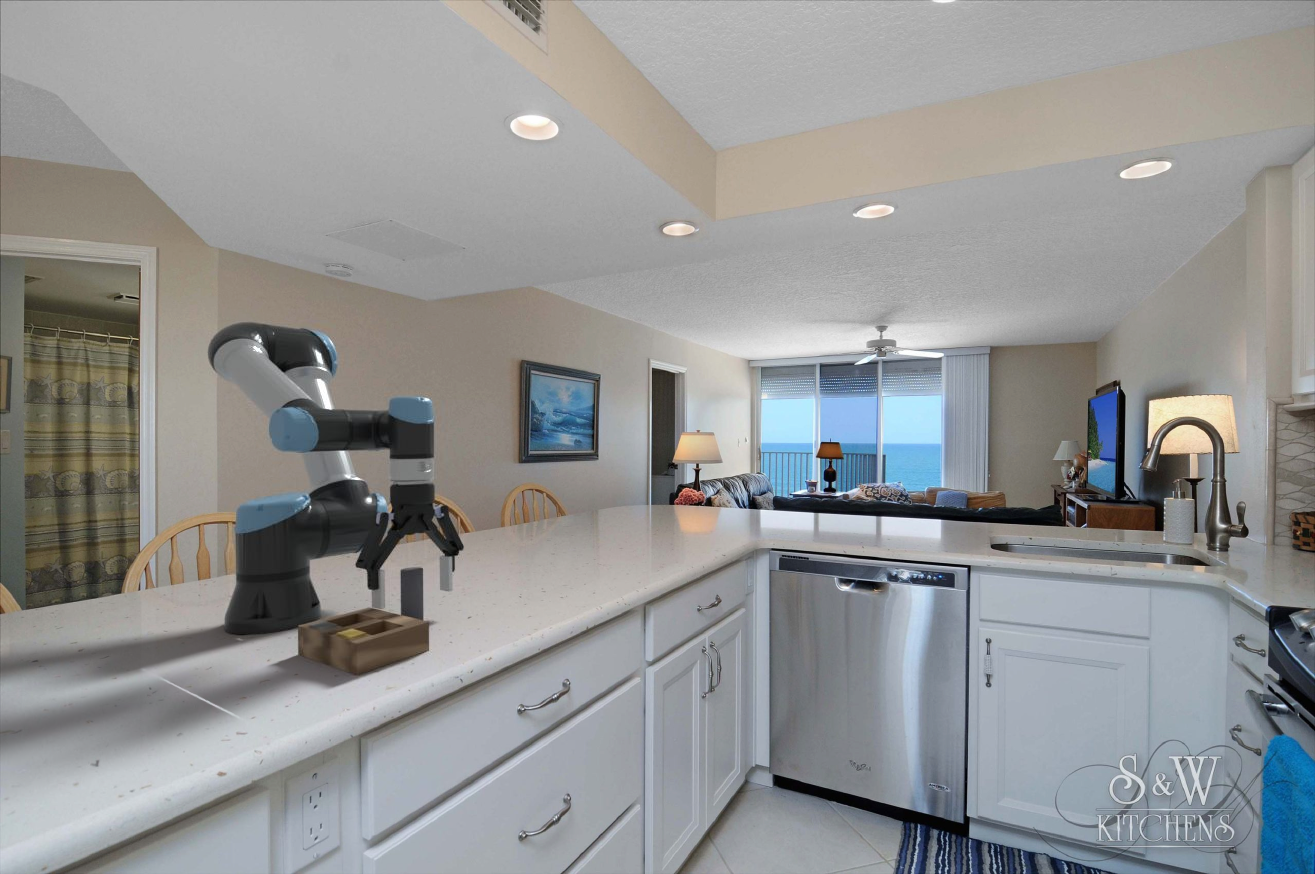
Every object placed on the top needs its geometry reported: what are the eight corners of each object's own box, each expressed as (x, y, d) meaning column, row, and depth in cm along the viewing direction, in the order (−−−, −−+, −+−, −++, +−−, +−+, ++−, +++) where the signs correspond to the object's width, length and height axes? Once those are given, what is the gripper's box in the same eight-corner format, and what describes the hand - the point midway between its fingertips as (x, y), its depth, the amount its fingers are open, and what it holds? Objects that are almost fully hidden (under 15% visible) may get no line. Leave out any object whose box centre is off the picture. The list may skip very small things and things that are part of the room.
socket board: (298, 654, 96) (297, 623, 96) (369, 633, 106) (369, 605, 106) (357, 675, 87) (357, 640, 87) (429, 650, 97) (428, 619, 97)
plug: (396, 625, 110) (395, 570, 110) (414, 620, 113) (414, 566, 113) (409, 629, 108) (409, 572, 108) (427, 623, 111) (427, 568, 111)
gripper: (358, 487, 98) (360, 619, 98) (481, 478, 120) (482, 586, 119) (332, 486, 102) (333, 613, 102) (455, 477, 124) (457, 582, 123)
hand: (414, 600), depth 111 cm, fingers open, 13 cm apart
